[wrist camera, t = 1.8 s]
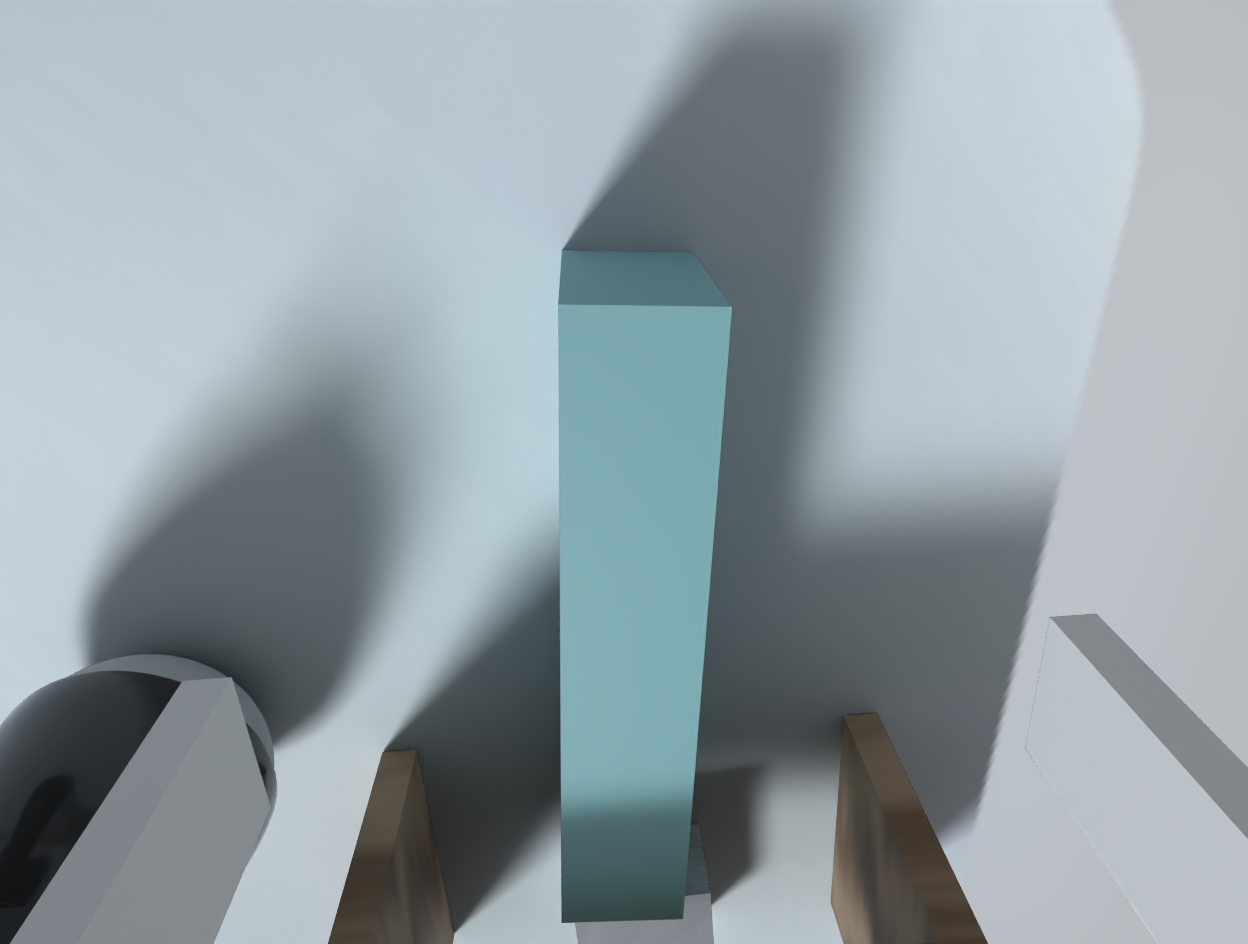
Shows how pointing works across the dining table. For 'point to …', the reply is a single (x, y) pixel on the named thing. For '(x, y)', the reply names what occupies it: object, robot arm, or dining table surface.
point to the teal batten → (634, 568)
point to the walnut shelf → (862, 869)
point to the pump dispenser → (87, 759)
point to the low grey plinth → (665, 939)
